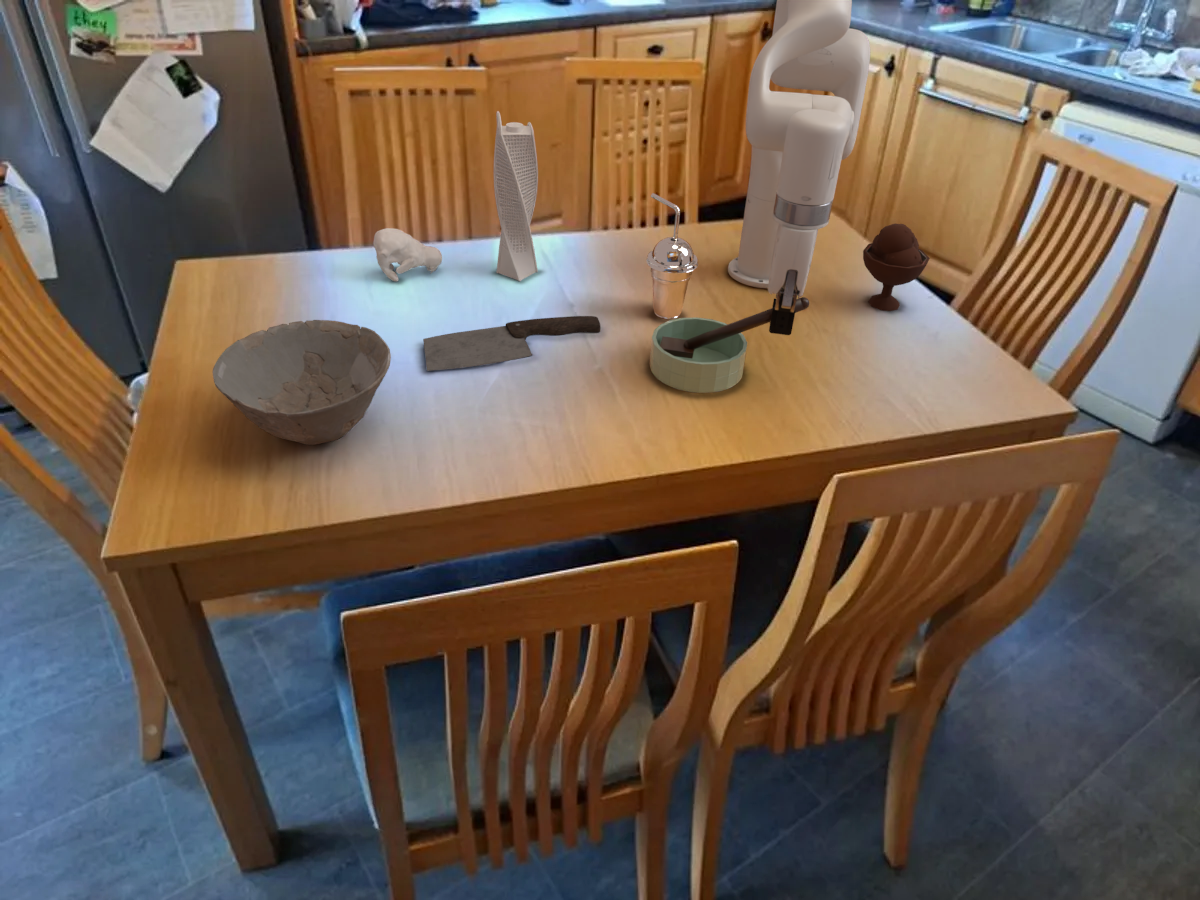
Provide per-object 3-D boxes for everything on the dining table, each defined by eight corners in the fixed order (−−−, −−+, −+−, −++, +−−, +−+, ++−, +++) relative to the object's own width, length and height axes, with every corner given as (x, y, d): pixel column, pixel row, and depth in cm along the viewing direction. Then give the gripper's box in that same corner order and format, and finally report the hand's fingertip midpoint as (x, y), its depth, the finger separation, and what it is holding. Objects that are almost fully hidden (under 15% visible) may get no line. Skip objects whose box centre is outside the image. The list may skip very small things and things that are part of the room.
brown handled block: (658, 354, 134) (664, 286, 127) (662, 341, 137) (668, 274, 130) (796, 373, 132) (810, 304, 125) (796, 360, 135) (810, 292, 128)
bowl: (657, 342, 143) (659, 312, 140) (745, 354, 141) (750, 324, 138) (642, 388, 132) (645, 356, 129) (738, 402, 130) (743, 370, 127)
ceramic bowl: (238, 492, 109) (220, 425, 103) (221, 396, 125) (206, 333, 120) (416, 455, 116) (410, 391, 110) (378, 369, 133) (371, 309, 127)
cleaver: (591, 319, 148) (592, 307, 147) (612, 347, 141) (613, 335, 140) (415, 345, 139) (414, 333, 138) (428, 376, 132) (427, 364, 131)
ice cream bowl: (918, 321, 153) (941, 239, 144) (852, 313, 154) (871, 231, 145) (913, 294, 161) (935, 215, 152) (851, 287, 163) (869, 208, 154)
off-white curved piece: (370, 223, 155) (439, 222, 159) (371, 268, 160) (437, 267, 164) (376, 237, 150) (446, 236, 155) (376, 283, 155) (444, 281, 159)
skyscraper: (486, 272, 161) (480, 114, 145) (512, 259, 166) (509, 105, 150) (520, 285, 158) (518, 124, 141) (545, 271, 163) (546, 114, 146)
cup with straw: (656, 331, 146) (666, 214, 134) (632, 307, 153) (640, 194, 141) (701, 323, 149) (715, 208, 137) (675, 299, 156) (687, 188, 144)
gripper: (776, 184, 126) (757, 301, 137) (771, 228, 113) (750, 352, 124) (830, 190, 125) (806, 307, 136) (831, 235, 112) (804, 360, 123)
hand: (780, 328), depth 130 cm, fingers closed on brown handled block
